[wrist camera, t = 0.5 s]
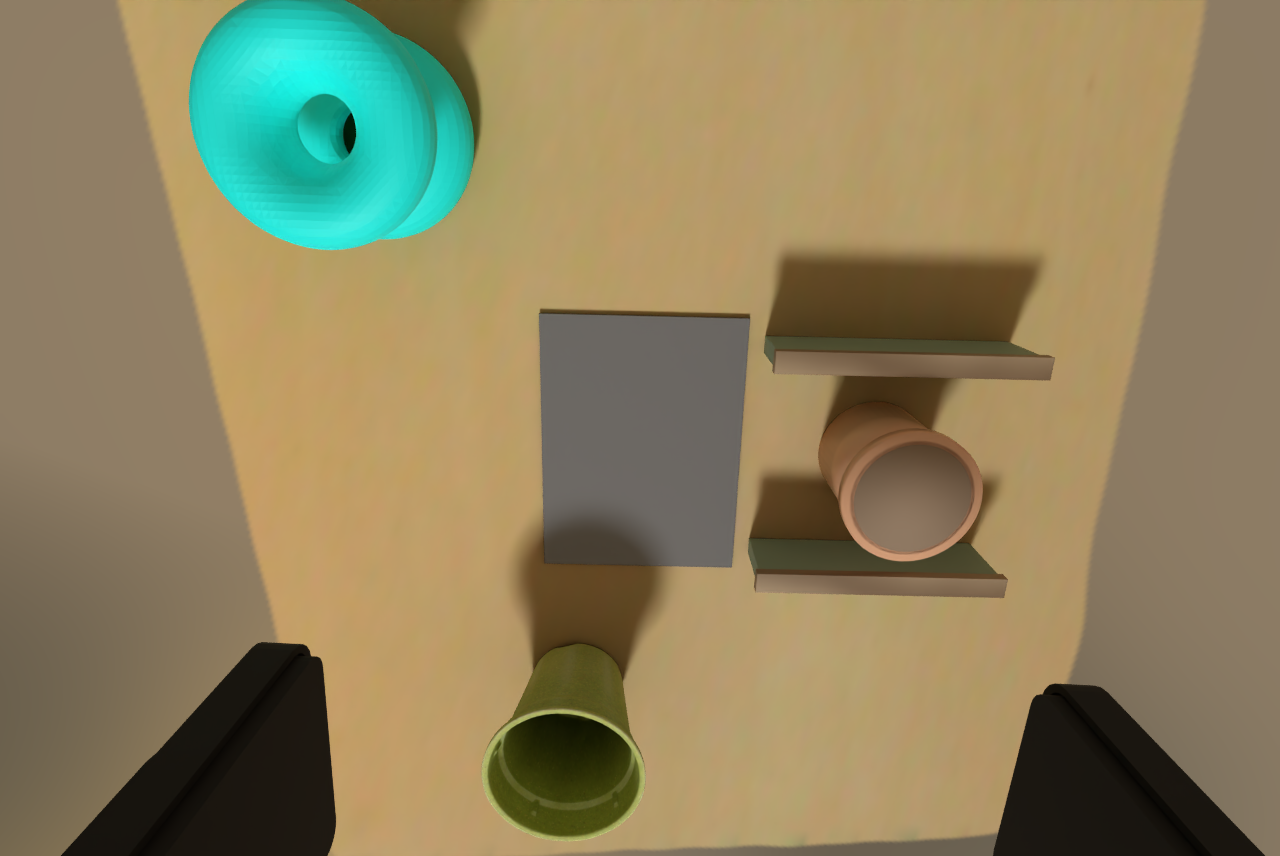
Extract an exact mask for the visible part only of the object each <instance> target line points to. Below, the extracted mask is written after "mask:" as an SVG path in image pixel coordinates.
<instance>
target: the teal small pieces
mask: <svg viewBox="0 0 1280 856" xmlns="http://www.w3.org/2000/svg"><path fill="white" fill-rule="evenodd" d="M189 112H190V121H191V126H192V131H193V135H194V139H195V142H196V145H197V148H198V151H199V153H200V156H201V158H202V160H203V162H204V165H205V167H206V169H207V171H208V172H209V174H210V176H211V178H212V179H213V181H214V182H215V184H216V185H217V187H218V188H219V190H220V191H221V192H222V194H223V195H224V196H225V197H226V198H227V200H228V201H229V202H230V203H231V204H232V205H233V206H234V207H235V208H236V209H237V210H238V211H239V212H240V213H241V214H242V215H244V216H245V217H246V218H247V219H248V220H250V221H251V222H252V223H254V224H255V225H256V226H258V227H260V228H261V229H263V230H264V231H266V232H268V233H270V234H272V235H274V236H276V237H278V238H280V239H283V240H285V241H287V242H290V243H293V244H296V245H300V246H303V247H308V248H314V249H322V250H339V249H348V248H354V247H359V246H362V245H366V244H369V243H371V242H374V241H376V240H378V239H397V238H403V237H408V236H411V235H415V234H418V233H420V232H423V231H425V230H427V229H429V228H430V227H432V226H434V225H435V224H437V223H438V222H439V221H441V220H442V219H443V218H444V217H445V216H446V215H447V214H448V213H449V212H450V211H451V210H452V209H453V208H454V206H455V205H456V204H457V202H458V201H459V199H460V198H461V196H462V194H463V192H464V190H465V188H466V186H467V184H468V181H469V178H470V174H471V171H472V166H473V159H474V133H473V126H472V121H471V117H470V114H469V111H468V107H467V105H466V102H465V100H464V98H463V96H462V93H461V91H460V90H459V88H458V86H457V84H456V83H455V81H454V80H453V78H452V77H451V75H450V74H449V73H448V72H447V70H446V69H445V68H444V67H443V66H442V65H441V64H440V63H439V61H437V60H436V59H435V58H434V57H433V56H432V55H431V54H430V53H428V52H427V51H426V50H424V49H423V48H422V47H420V46H419V45H417V44H416V43H414V42H412V41H410V40H409V39H406V38H404V37H402V36H400V35H397V34H395V33H392V32H391V31H390V30H389V29H388V28H387V27H385V26H384V25H383V24H382V23H381V22H380V21H378V20H377V19H376V18H374V17H373V16H372V15H370V14H369V13H367V12H366V11H364V10H362V9H361V8H359V7H357V6H355V5H354V4H352V3H350V2H347V1H345V0H246V1H244V2H243V3H241V4H239V5H238V6H236V7H235V8H233V9H232V10H230V11H229V12H228V13H227V14H226V15H225V16H224V17H222V18H221V19H220V21H219V22H218V23H217V24H216V25H215V26H214V27H213V29H212V30H211V31H210V33H209V34H208V36H207V37H206V39H205V41H204V42H203V44H202V46H201V48H200V50H199V53H198V55H197V58H196V61H195V64H194V67H193V71H192V75H191V81H190V90H189ZM351 112H352V115H353V117H354V120H355V125H356V140H355V144H354V147H353V149H352V151H351V153H350V154H349V153H348V151H347V149H346V147H345V144H344V139H343V129H344V124H345V121H346V119H347V117H348V116H349V115H350V113H351Z"/></svg>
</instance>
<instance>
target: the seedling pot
mask: <svg viewBox="0 0 1280 856" xmlns="http://www.w3.org/2000/svg"><path fill="white" fill-rule="evenodd" d="M818 460H819V466H820V470H821V472H822V475H823V477H824V478H825V480H826V482H827V483H828V485H829V486H830V488H831V489H832V491H833V493H834V494H835V496H836V497H837V499H838V504H839V510H840V514H841V517H842V520H843V522H844V524H845V526H846V527H847V529H848V531H849V532H850V534H851V536H852V537H853V538H854V539H855V541H856V542H857V543H858V544H859V545H860V546H861V547H863V548H864V549H865V550H867V551H868V552H870V553H872V554H874V555H876V556H878V557H881V558H884V559H888V560H893V561H915V560H921V559H925V558H929V557H931V556H934V555H936V554H939V553H941V552H943V551H944V550H946V549H948V548H949V547H951V546H952V545H954V544H955V543H956V542H957V541H958V540H960V539H961V538H962V537H963V536H964V534H965V533H966V532H967V531H968V530H969V528H970V527H971V526H972V524H973V522H974V521H975V519H976V517H977V514H978V512H979V510H980V506H981V502H982V495H983V483H982V478H981V474H980V471H979V468H978V466H977V464H976V462H975V461H974V459H973V458H972V457H971V455H970V454H969V453H968V452H967V451H966V450H965V449H964V448H963V447H962V446H960V445H959V444H958V443H957V442H955V441H954V440H952V439H951V438H950V437H948V436H946V435H944V434H942V433H939V432H936V431H933V430H929V429H927V428H926V427H925V426H924V425H923V424H921V423H920V422H919V421H918V420H917V419H915V418H914V417H913V416H912V415H911V414H909V413H908V412H907V411H905V410H904V409H902V408H900V407H899V406H896V405H893V404H890V403H886V402H867V403H862V404H859V405H856V406H853V407H851V408H849V409H847V410H846V411H844V412H842V413H841V414H840V415H838V416H837V417H836V418H835V419H834V420H833V421H832V422H831V424H830V425H829V426H828V427H827V429H826V431H825V432H824V434H823V436H822V439H821V442H820V445H819V451H818Z"/></svg>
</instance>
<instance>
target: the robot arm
mask: <svg viewBox="0 0 1280 856" xmlns="http://www.w3.org/2000/svg"><path fill="white" fill-rule="evenodd" d="M335 827H336V813H335V802H334V790H333V778H332V766H331V755H330V743H329V731H328V720H327V708H326V696H325V684H324V673H323V665H322V661H321V659H320V658H319V657H313V656H311V655H310V651H309V649H308V647H307V646H305V645H303V644H286V643H267V642H261V643H258V644H256V645H255V646H254V647H252V648H251V649H250V650H249V652H248V653H247V654H246V655H245V656H244V657H243V658H242V659H241V660H240V662H239V663H238V664H237V665H236V666H235V667H234V668H233V669H232V670H231V672H230V673H229V674H228V675H227V676H226V677H225V678H224V679H223V680H222V682H220V684H219V685H218V686H217V687H216V688H215V689H214V690H213V692H211V694H210V695H209V696H208V697H207V698H206V699H205V700H204V701H203V702H202V703H201V705H200V706H199V707H198V708H197V709H196V710H195V711H194V712H193V713H192V715H191V716H190V717H189V718H188V719H187V720H186V721H185V722H184V723H183V724H182V726H181V727H180V728H179V729H178V730H177V731H176V732H175V733H174V735H173V736H172V737H171V738H170V739H169V740H168V741H167V742H166V743H165V744H164V746H163V747H162V748H161V749H160V750H159V751H158V752H157V753H156V754H155V755H154V756H152V757H151V758H150V759H149V760H148V761H147V762H146V763H145V764H144V765H143V766H142V767H141V768H140V769H139V770H138V772H137V773H136V774H135V775H134V776H133V777H132V778H131V779H130V780H129V781H128V783H127V784H126V785H125V786H124V787H123V788H122V789H121V790H120V791H119V792H118V793H117V795H116V796H115V797H114V798H113V799H112V800H111V801H110V802H109V804H107V806H106V807H105V808H104V809H103V810H102V811H101V812H100V813H99V814H98V815H97V817H96V818H95V819H94V820H93V821H92V822H91V823H90V824H89V825H88V827H87V828H86V829H85V830H84V831H83V832H82V833H81V834H80V835H79V836H78V838H77V839H76V840H75V841H74V842H73V843H72V844H71V845H70V846H69V847H68V849H66V851H65V852H64V853H63V854H62V855H61V856H327V855H328V853H329V851H330V848H331V846H332V842H333V839H334V834H335ZM993 856H1265V855H1264V854H1263V853H1262V852H1261V851H1260V850H1259V849H1258V848H1257V847H1256V846H1255V845H1254V844H1253V843H1252V842H1251V841H1250V840H1249V839H1248V838H1247V836H1245V834H1244V833H1243V832H1242V831H1241V830H1240V829H1239V828H1238V827H1237V826H1236V825H1235V824H1234V823H1233V822H1232V821H1231V820H1230V819H1229V818H1228V817H1227V816H1226V815H1225V814H1224V813H1223V812H1222V811H1221V810H1220V808H1219V807H1218V806H1217V805H1216V804H1215V803H1214V802H1213V801H1212V800H1211V799H1210V798H1209V797H1208V796H1207V795H1206V794H1205V793H1204V792H1203V791H1202V790H1201V789H1200V788H1199V787H1198V786H1197V785H1196V784H1195V783H1194V782H1193V780H1192V779H1191V778H1190V777H1189V776H1188V775H1187V774H1186V773H1185V772H1184V771H1183V770H1182V769H1181V768H1180V767H1179V766H1178V765H1177V764H1176V763H1175V762H1174V761H1173V760H1172V759H1171V758H1170V757H1169V756H1168V755H1167V753H1166V752H1165V751H1164V750H1163V749H1162V748H1161V747H1160V746H1159V745H1158V744H1157V743H1156V742H1155V741H1154V740H1153V739H1152V738H1151V737H1150V736H1149V735H1148V734H1147V733H1146V732H1145V731H1144V730H1143V729H1142V728H1141V727H1140V725H1139V724H1137V722H1136V721H1135V720H1134V719H1133V718H1132V717H1131V716H1130V715H1129V714H1128V713H1127V712H1126V711H1125V710H1124V709H1123V708H1122V707H1121V706H1120V705H1119V704H1118V703H1117V702H1116V701H1115V700H1114V699H1113V698H1112V697H1111V696H1110V694H1109V693H1108V692H1106V691H1105V690H1104V689H1102V688H1101V687H1097V686H1090V685H1072V684H1051V685H1049V686H1048V687H1047V688H1046V689H1045V690H1044V693H1043V695H1042V694H1040V695H1036V696H1035V697H1034V698H1033V700H1032V703H1031V706H1030V710H1029V714H1028V718H1027V722H1026V726H1025V730H1024V733H1023V737H1022V741H1021V745H1020V749H1019V753H1018V757H1017V761H1016V765H1015V769H1014V773H1013V777H1012V781H1011V785H1010V789H1009V793H1008V797H1007V801H1006V805H1005V808H1004V812H1003V816H1002V820H1001V824H1000V828H999V832H998V836H997V840H996V844H995V848H994V853H993Z"/></svg>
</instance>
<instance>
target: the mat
mask: <svg viewBox="0 0 1280 856" xmlns="http://www.w3.org/2000/svg"><path fill="white" fill-rule="evenodd" d="M749 324H750V318H722V317H680V316H638V315H596V314H555V313H539V328H540V374H541V421H542V467H543V514H544V560H545V563H554V564H598V565H643V566H687V567H732V558H733V544H734V530H735V517H736V503H737V489H738V475H739V462H740V448H741V434H742V420H743V406H744V393H745V379H746V365H747V351H748V338H749Z"/></svg>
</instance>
